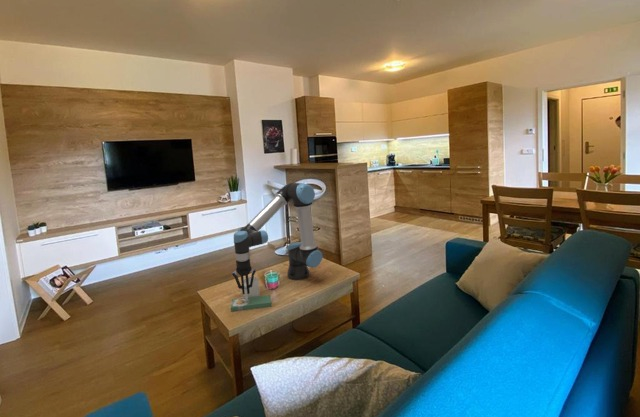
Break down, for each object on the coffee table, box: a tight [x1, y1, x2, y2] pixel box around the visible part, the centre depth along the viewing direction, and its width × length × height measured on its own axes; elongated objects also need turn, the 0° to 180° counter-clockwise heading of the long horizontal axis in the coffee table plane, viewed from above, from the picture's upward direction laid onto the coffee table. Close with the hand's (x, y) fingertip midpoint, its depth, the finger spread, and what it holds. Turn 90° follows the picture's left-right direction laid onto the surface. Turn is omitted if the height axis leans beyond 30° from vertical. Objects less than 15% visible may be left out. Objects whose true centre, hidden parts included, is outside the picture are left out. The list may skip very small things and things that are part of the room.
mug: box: [240, 276, 261, 298], centre depth 200 cm, size 9×12×11 cm
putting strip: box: [230, 294, 272, 313], centre depth 191 cm, size 22×10×2 cm, turn 100°
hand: (246, 299), depth 190 cm, fingers closed
